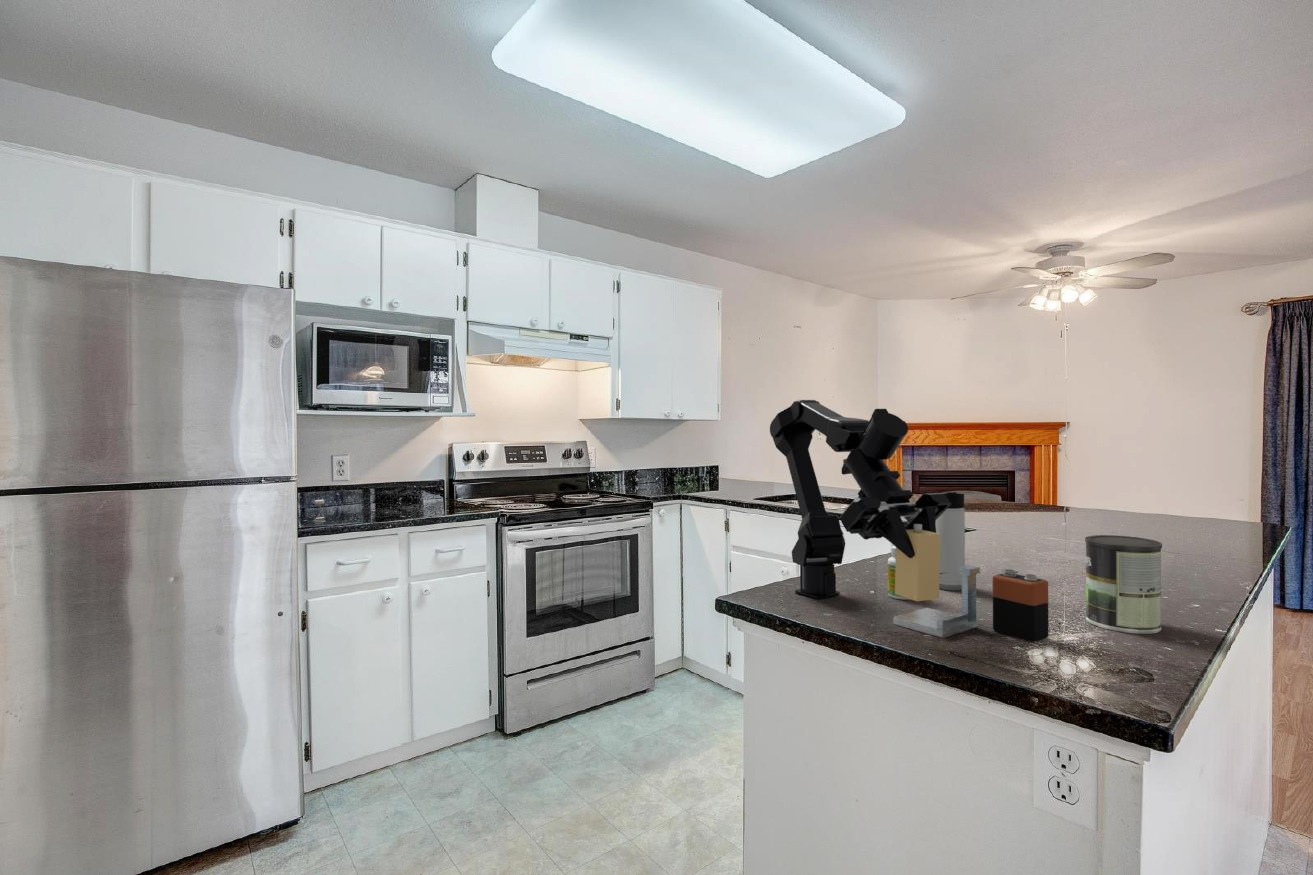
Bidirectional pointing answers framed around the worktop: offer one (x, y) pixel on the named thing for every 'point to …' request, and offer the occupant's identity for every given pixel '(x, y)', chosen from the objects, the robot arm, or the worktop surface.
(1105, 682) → the worktop surface
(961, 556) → the travel mug
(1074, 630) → the worktop surface
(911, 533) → the block
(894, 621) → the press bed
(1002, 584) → the battery
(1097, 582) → the coffee can
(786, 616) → the worktop surface
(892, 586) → the supplement bottle
